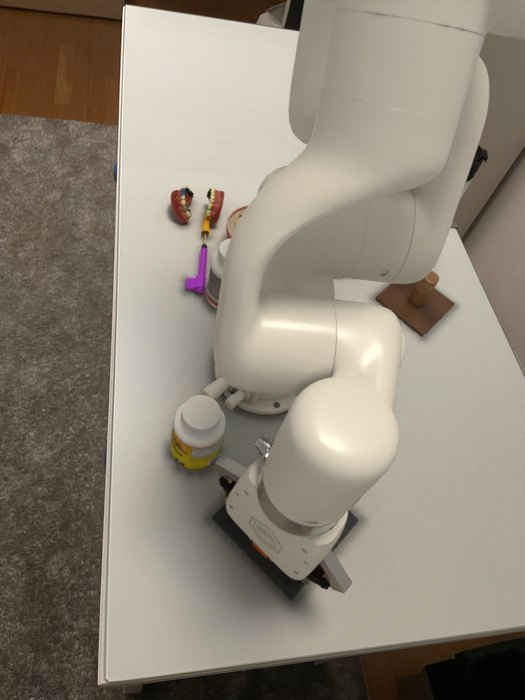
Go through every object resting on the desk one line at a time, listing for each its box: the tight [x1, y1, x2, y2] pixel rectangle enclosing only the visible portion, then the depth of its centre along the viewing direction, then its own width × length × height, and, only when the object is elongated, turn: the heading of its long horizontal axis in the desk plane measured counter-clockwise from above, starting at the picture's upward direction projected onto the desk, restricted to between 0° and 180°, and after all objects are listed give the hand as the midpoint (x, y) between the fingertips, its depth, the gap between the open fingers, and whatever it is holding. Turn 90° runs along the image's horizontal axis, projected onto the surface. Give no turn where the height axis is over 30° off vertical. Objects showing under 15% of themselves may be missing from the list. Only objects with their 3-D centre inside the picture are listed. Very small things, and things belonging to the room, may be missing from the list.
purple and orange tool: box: [185, 215, 211, 295], centre depth 81 cm, size 3×1×16 cm
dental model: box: [170, 185, 225, 225], centre depth 84 cm, size 6×4×8 cm
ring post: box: [374, 270, 455, 337], centre depth 82 cm, size 9×9×6 cm
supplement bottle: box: [170, 394, 227, 472], centre depth 61 cm, size 6×6×10 cm
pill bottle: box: [205, 238, 231, 310], centre depth 74 cm, size 5×5×10 cm
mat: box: [211, 502, 360, 601], centre depth 62 cm, size 12×12×1 cm
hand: (265, 542), depth 59 cm, fingers closed on ring, 8 cm apart
